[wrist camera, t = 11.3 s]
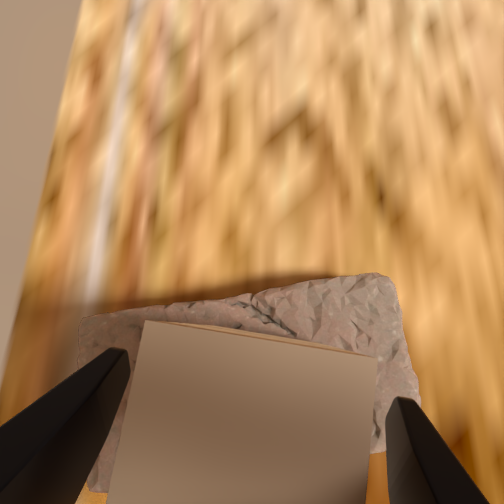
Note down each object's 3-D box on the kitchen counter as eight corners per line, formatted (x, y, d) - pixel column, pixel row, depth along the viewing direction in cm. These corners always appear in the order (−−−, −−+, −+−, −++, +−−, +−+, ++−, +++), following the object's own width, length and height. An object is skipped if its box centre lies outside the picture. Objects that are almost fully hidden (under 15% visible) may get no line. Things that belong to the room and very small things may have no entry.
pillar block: (304, 456, 16) (353, 643, 7) (195, 435, 17) (89, 583, 7) (317, 342, 17) (378, 357, 8) (214, 325, 18) (145, 319, 8)
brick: (374, 277, 22) (400, 263, 18) (408, 423, 21) (446, 450, 16) (110, 320, 23) (68, 317, 18) (120, 466, 21) (77, 504, 16)
